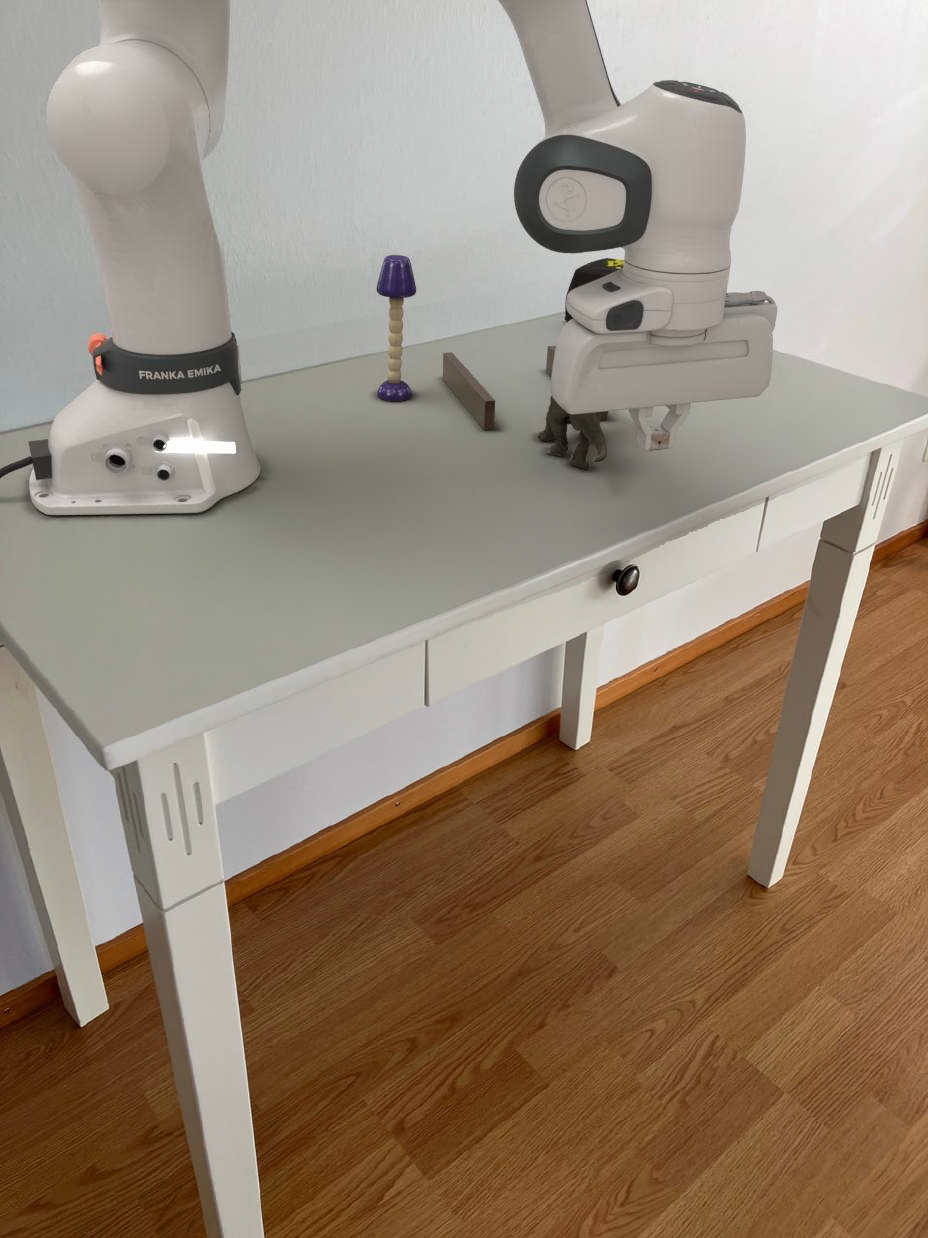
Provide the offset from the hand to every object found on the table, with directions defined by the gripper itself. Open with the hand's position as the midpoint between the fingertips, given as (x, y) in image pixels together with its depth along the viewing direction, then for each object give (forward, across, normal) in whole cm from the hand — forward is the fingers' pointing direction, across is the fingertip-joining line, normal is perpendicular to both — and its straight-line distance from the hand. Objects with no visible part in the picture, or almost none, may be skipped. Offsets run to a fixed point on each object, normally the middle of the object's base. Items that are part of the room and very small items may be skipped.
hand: (654, 448), depth 95 cm
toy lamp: (+8, +15, -39) cm, 43 cm away
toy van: (+8, -26, -53) cm, 59 cm away
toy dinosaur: (+8, 0, -18) cm, 20 cm away
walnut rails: (+8, 0, -35) cm, 36 cm away
